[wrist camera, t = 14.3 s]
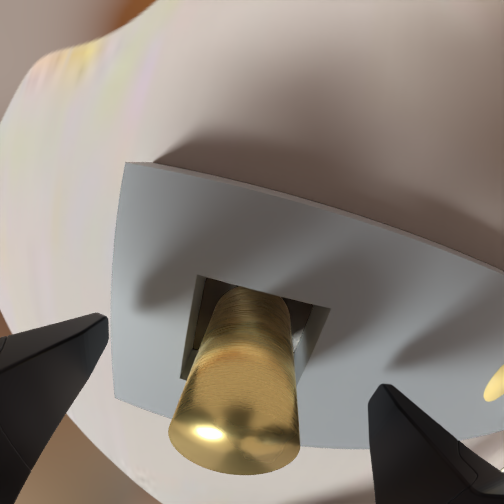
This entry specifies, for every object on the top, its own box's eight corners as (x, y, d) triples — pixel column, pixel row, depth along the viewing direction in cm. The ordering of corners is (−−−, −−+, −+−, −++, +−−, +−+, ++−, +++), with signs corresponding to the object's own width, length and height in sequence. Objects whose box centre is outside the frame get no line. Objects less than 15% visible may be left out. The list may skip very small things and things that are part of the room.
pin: (277, 357, 11) (276, 480, 6) (208, 339, 11) (166, 458, 6) (300, 296, 11) (322, 421, 5) (222, 276, 11) (172, 389, 5)
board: (525, 407, 13) (535, 420, 11) (131, 372, 12) (113, 399, 10) (580, 310, 10) (593, 321, 8) (151, 162, 9) (123, 162, 7)
